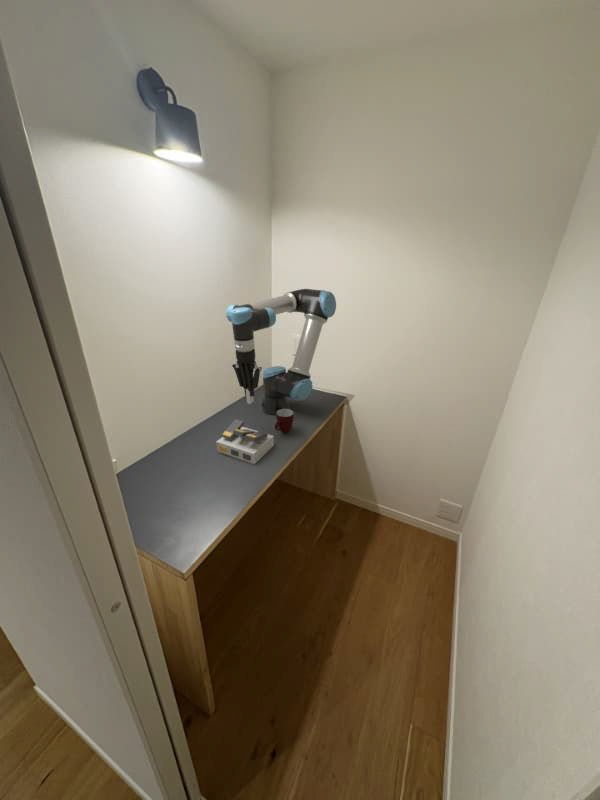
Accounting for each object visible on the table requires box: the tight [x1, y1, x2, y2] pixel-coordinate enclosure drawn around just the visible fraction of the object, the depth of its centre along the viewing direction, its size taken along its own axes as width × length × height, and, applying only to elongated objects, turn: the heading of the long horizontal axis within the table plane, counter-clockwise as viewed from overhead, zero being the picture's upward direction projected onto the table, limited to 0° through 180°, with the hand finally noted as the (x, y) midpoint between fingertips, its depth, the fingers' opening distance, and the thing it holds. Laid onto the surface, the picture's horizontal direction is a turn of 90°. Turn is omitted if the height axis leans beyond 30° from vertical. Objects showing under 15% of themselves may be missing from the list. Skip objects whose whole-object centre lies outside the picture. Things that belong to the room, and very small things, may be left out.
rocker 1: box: [221, 418, 245, 440], centre depth 135 cm, size 10×4×2 cm, turn 153°
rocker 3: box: [245, 430, 269, 442], centre depth 130 cm, size 10×4×2 cm, turn 153°
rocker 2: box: [233, 428, 257, 437], centre depth 133 cm, size 10×4×2 cm, turn 153°
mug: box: [274, 408, 295, 434], centre depth 146 cm, size 10×8×10 cm
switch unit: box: [215, 426, 275, 465], centre depth 135 cm, size 15×19×7 cm
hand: (250, 402), depth 134 cm, fingers closed
